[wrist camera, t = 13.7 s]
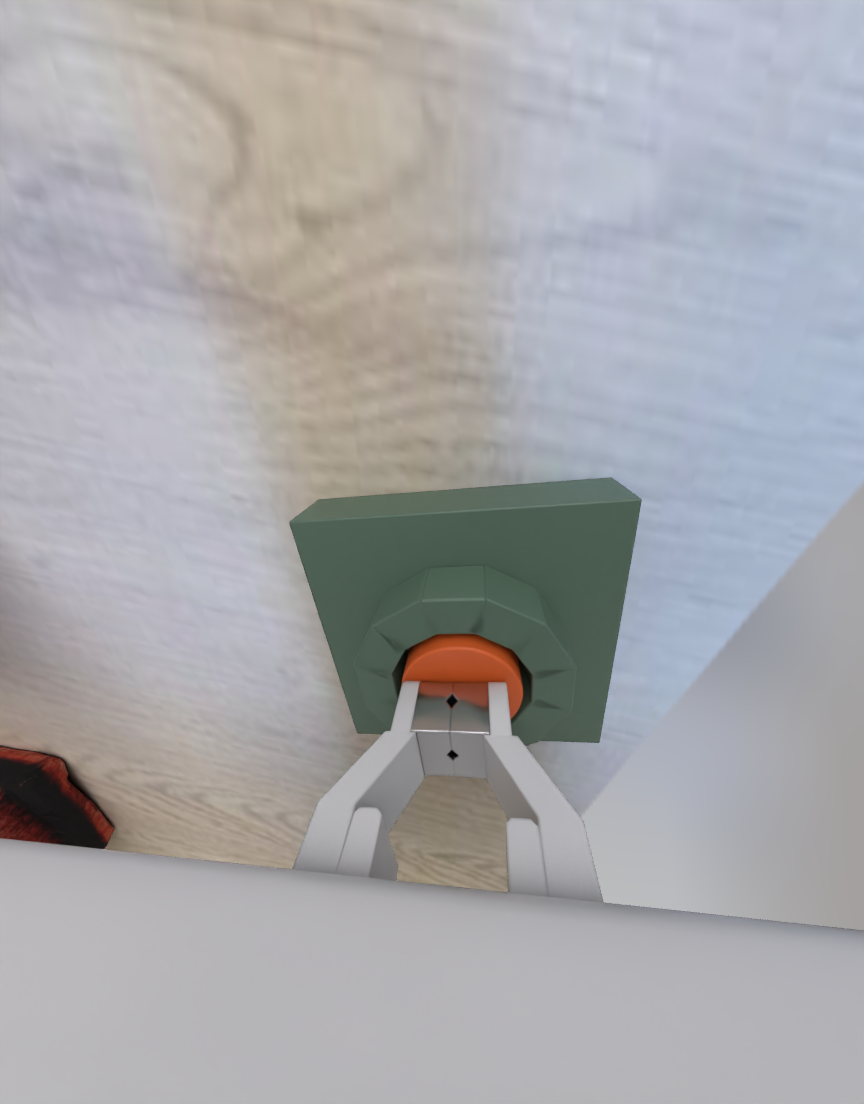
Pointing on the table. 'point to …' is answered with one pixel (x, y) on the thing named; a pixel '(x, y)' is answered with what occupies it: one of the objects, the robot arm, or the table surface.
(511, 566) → the button block
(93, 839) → the vase
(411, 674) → the button
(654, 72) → the table surface
